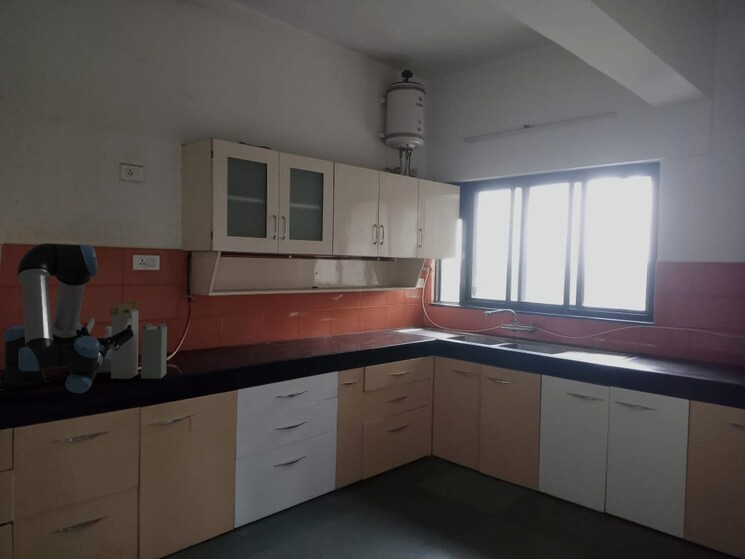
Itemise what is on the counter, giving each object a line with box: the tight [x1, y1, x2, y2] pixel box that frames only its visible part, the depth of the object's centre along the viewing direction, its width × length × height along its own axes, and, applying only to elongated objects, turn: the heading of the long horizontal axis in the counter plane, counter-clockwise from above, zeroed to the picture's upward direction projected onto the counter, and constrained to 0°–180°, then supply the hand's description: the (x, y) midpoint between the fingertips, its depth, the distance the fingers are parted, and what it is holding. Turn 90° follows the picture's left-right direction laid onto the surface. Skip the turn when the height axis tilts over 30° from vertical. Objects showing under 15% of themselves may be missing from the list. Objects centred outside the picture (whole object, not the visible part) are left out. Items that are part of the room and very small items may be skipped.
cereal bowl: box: [97, 353, 111, 374], centre depth 224 cm, size 17×17×7 cm
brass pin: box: [109, 300, 139, 316], centre depth 212 cm, size 4×23×4 cm, turn 9°
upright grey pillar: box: [140, 322, 168, 380], centre depth 217 cm, size 8×9×22 cm
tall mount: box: [110, 308, 140, 380], centre depth 215 cm, size 8×9×29 cm
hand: (111, 320), depth 197 cm, fingers open, 13 cm apart
